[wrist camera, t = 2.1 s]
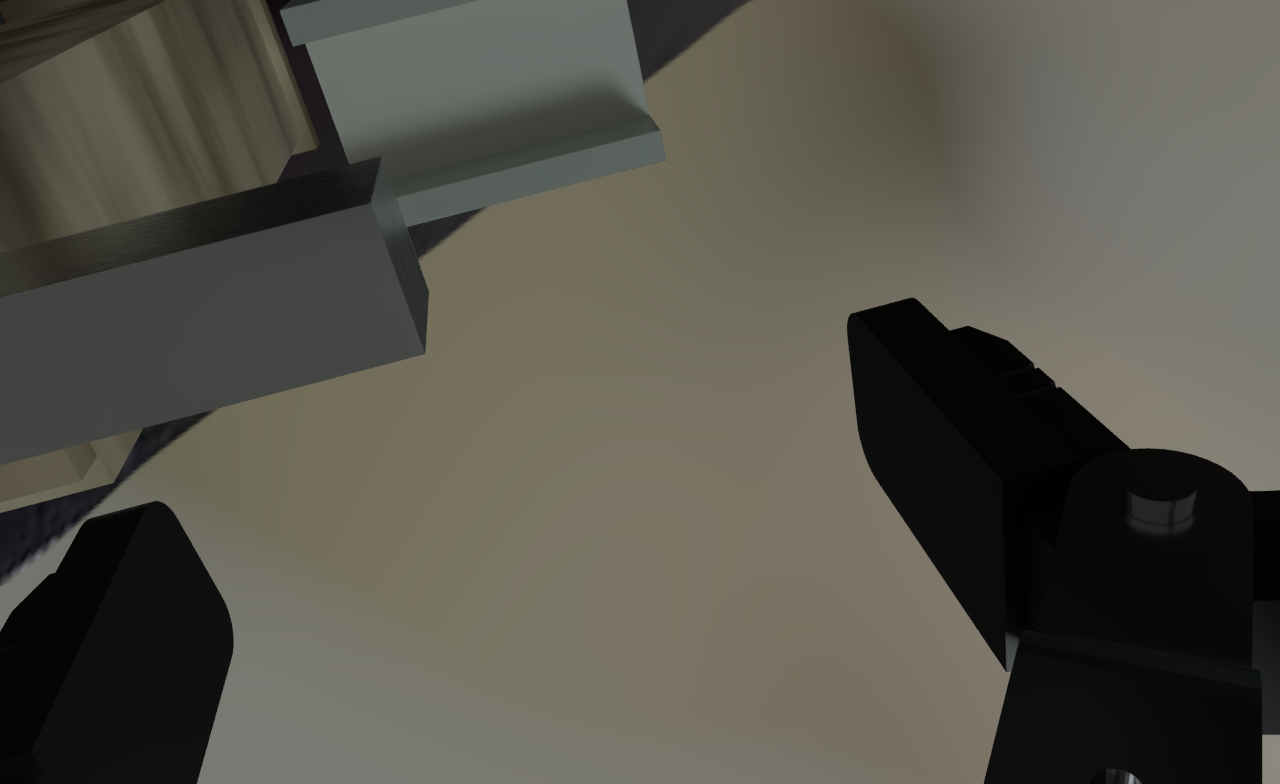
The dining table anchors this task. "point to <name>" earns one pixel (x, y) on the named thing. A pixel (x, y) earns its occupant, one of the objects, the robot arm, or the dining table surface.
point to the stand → (131, 142)
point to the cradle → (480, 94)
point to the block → (205, 308)
